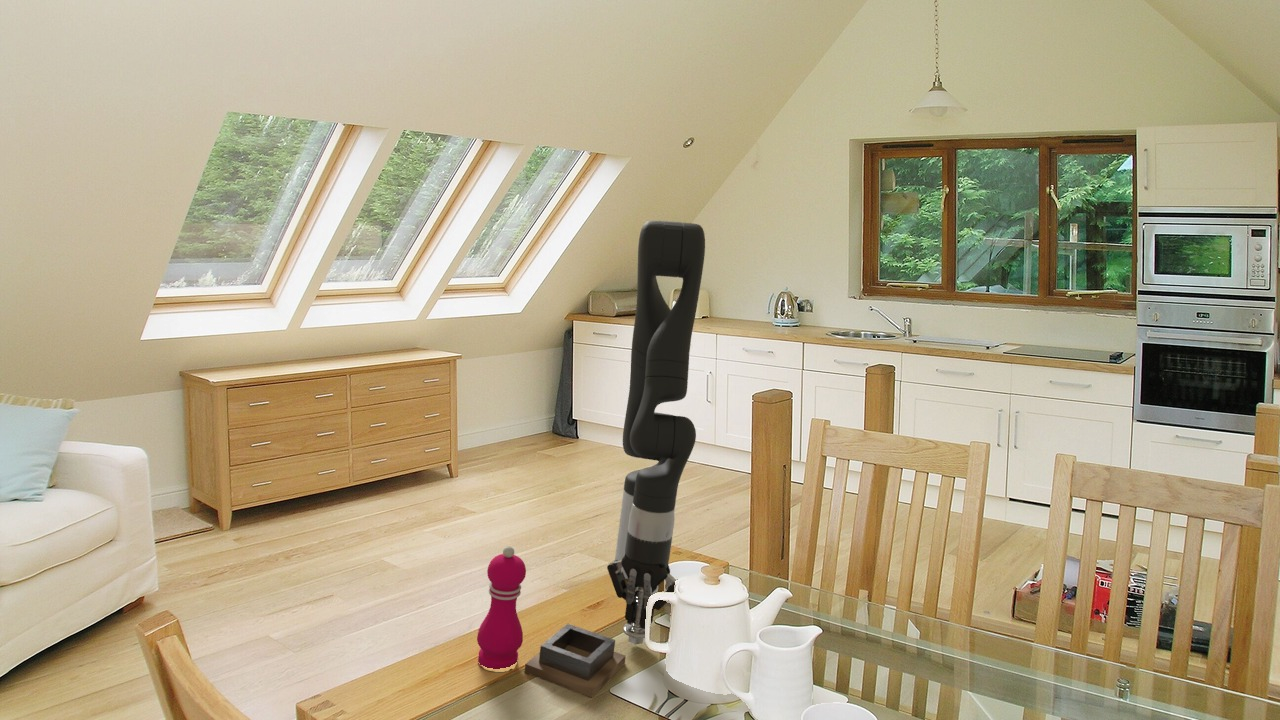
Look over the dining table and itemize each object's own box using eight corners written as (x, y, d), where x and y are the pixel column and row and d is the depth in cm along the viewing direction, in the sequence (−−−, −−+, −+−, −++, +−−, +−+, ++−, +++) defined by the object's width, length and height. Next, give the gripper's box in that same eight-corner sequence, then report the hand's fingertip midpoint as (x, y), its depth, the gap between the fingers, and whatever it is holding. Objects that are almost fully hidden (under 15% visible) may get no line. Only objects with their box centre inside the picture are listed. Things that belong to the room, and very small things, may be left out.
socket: (565, 639, 161) (567, 623, 160) (613, 656, 157) (615, 640, 157) (538, 662, 153) (540, 645, 152) (588, 681, 149) (590, 663, 149)
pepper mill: (516, 677, 151) (529, 559, 146) (470, 671, 151) (481, 553, 146) (523, 653, 158) (535, 540, 153) (479, 648, 158) (490, 534, 153)
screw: (631, 630, 168) (654, 640, 165) (616, 640, 164) (639, 651, 161) (641, 561, 165) (665, 571, 162) (625, 570, 161) (649, 580, 158)
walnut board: (561, 641, 163) (562, 633, 163) (624, 663, 158) (625, 655, 158) (524, 672, 152) (525, 663, 152) (591, 697, 148) (592, 688, 147)
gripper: (696, 534, 161) (683, 628, 164) (622, 512, 166) (611, 604, 170) (680, 549, 154) (666, 646, 158) (603, 526, 159) (591, 621, 163)
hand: (637, 624), depth 164 cm, fingers closed on screw, 2 cm apart
